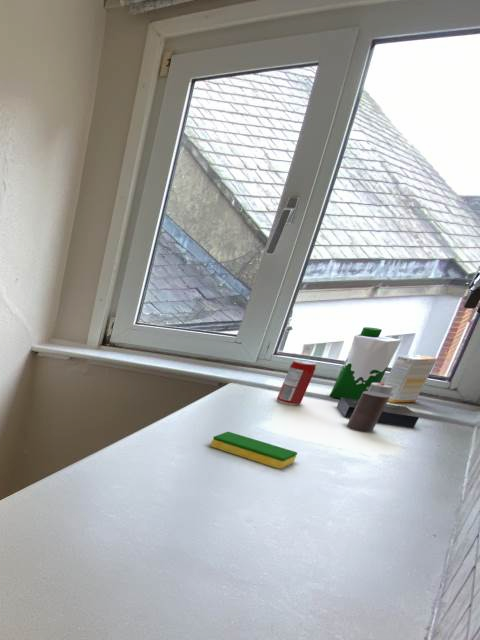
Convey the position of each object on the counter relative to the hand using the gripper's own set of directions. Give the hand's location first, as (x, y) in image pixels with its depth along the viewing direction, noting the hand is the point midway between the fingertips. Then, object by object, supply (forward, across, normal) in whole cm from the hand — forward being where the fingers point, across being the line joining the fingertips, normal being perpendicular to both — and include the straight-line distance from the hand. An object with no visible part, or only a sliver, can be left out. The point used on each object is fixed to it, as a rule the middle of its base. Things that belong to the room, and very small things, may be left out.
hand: (475, 310), depth 138 cm
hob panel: (+28, +12, -13) cm, 33 cm away
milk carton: (+28, -7, -14) cm, 32 cm away
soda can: (+28, +10, -31) cm, 43 cm away
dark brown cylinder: (+27, +26, -18) cm, 42 cm away
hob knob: (+24, +11, -14) cm, 30 cm away
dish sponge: (+27, +64, -44) cm, 82 cm away
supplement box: (+28, -14, -2) cm, 31 cm away
